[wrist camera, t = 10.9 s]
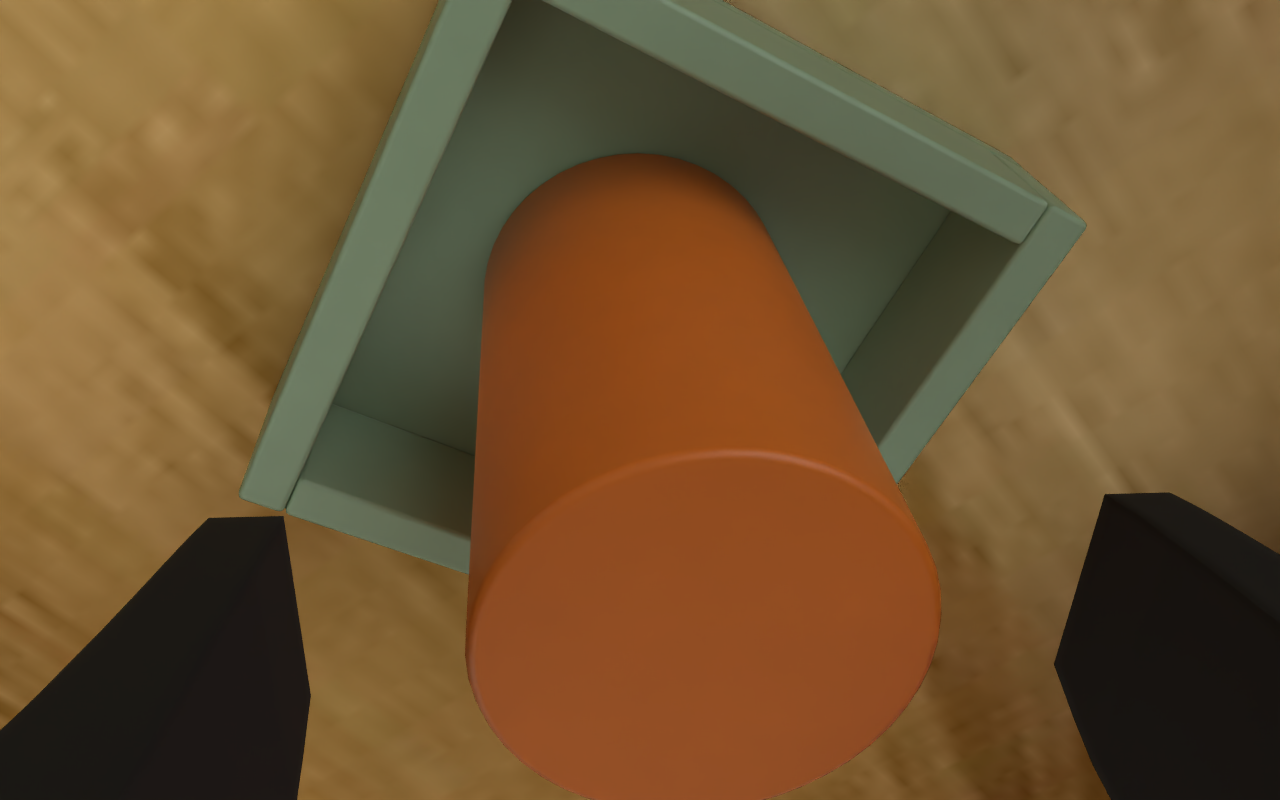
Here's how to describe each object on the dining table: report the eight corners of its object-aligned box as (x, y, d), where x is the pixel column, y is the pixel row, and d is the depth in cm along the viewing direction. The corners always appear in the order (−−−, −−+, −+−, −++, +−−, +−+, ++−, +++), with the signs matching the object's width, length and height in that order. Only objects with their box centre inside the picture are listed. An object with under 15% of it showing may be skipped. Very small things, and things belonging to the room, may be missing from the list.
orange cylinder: (791, 151, 15) (987, 446, 9) (763, 416, 17) (904, 804, 11) (478, 150, 14) (452, 458, 8) (488, 421, 16) (473, 829, 10)
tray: (1011, 157, 15) (1091, 225, 13) (731, 565, 19) (760, 673, 16) (490, -127, 13) (486, -98, 11) (272, 397, 16) (235, 499, 14)
